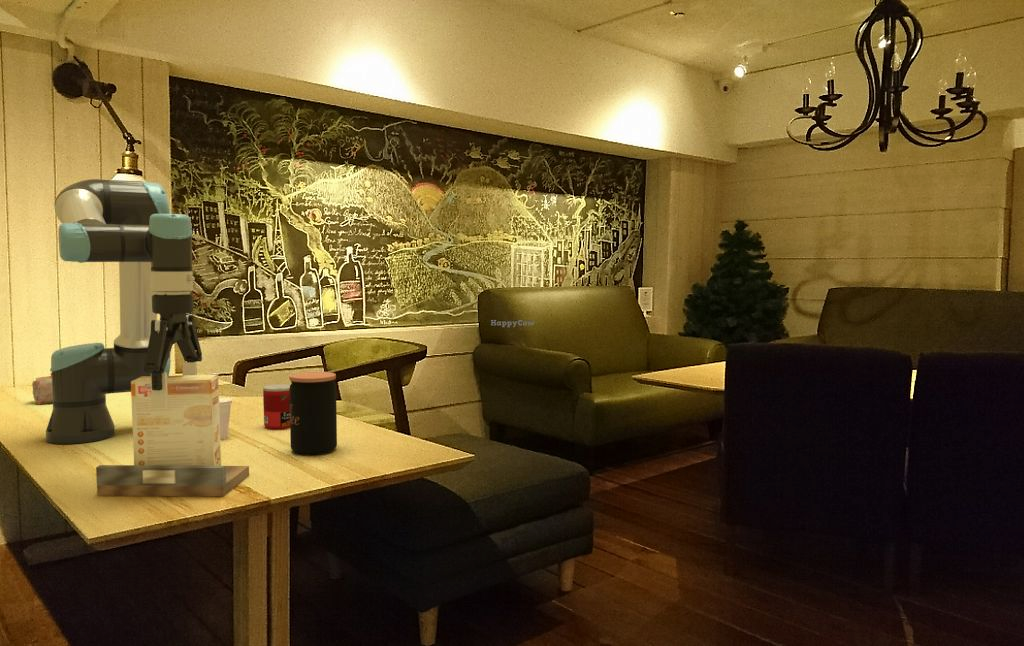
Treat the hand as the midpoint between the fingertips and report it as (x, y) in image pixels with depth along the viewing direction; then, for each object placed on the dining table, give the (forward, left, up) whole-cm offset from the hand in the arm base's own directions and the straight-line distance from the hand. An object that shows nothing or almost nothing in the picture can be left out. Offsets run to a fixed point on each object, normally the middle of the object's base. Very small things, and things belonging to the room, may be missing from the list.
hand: (176, 399), depth 150 cm
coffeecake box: (0, 0, -15) cm, 15 cm away
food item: (-76, +86, -17) cm, 116 cm away
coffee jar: (+20, +27, -17) cm, 38 cm away
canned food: (+4, +52, -17) cm, 55 cm away
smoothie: (-7, +39, -17) cm, 43 cm away
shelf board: (0, -1, -17) cm, 17 cm away
